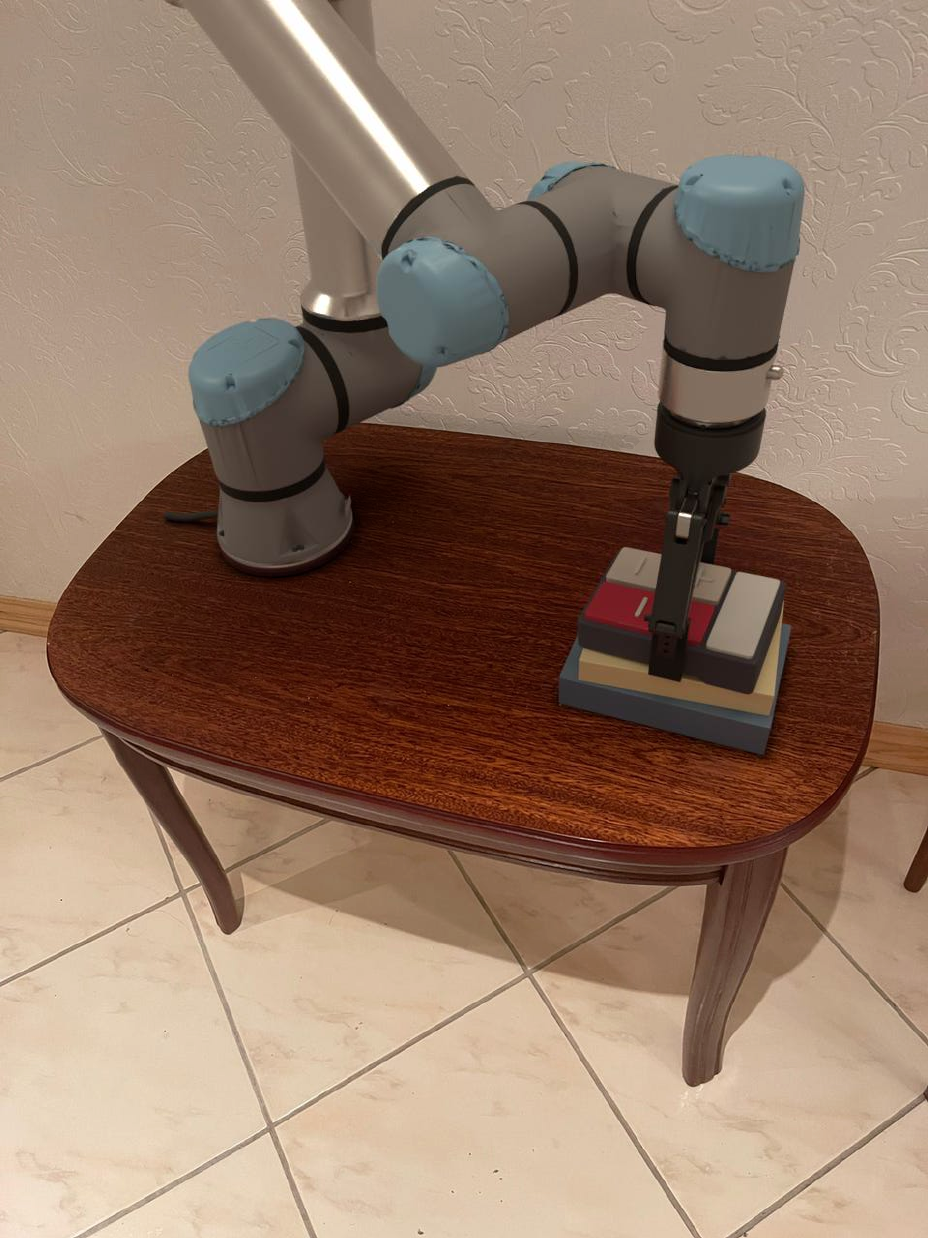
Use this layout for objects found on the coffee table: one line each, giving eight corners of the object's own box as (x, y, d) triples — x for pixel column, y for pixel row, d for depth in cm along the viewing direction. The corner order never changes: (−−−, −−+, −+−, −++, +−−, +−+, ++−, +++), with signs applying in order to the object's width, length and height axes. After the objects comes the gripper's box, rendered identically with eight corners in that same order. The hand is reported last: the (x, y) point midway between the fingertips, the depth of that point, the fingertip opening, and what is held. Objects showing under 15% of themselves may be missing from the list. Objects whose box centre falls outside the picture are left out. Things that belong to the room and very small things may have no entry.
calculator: (619, 540, 81) (788, 573, 75) (619, 576, 84) (782, 611, 78) (575, 614, 74) (757, 658, 68) (576, 651, 77) (751, 696, 71)
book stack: (558, 703, 80) (559, 656, 76) (598, 610, 89) (601, 563, 85) (763, 755, 74) (776, 708, 70) (785, 650, 83) (797, 602, 79)
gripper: (737, 505, 54) (696, 738, 68) (789, 336, 69) (747, 555, 84) (616, 485, 56) (601, 714, 71) (693, 326, 72) (668, 540, 86)
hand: (680, 628), depth 77 cm, fingers closed on calculator, 11 cm apart
